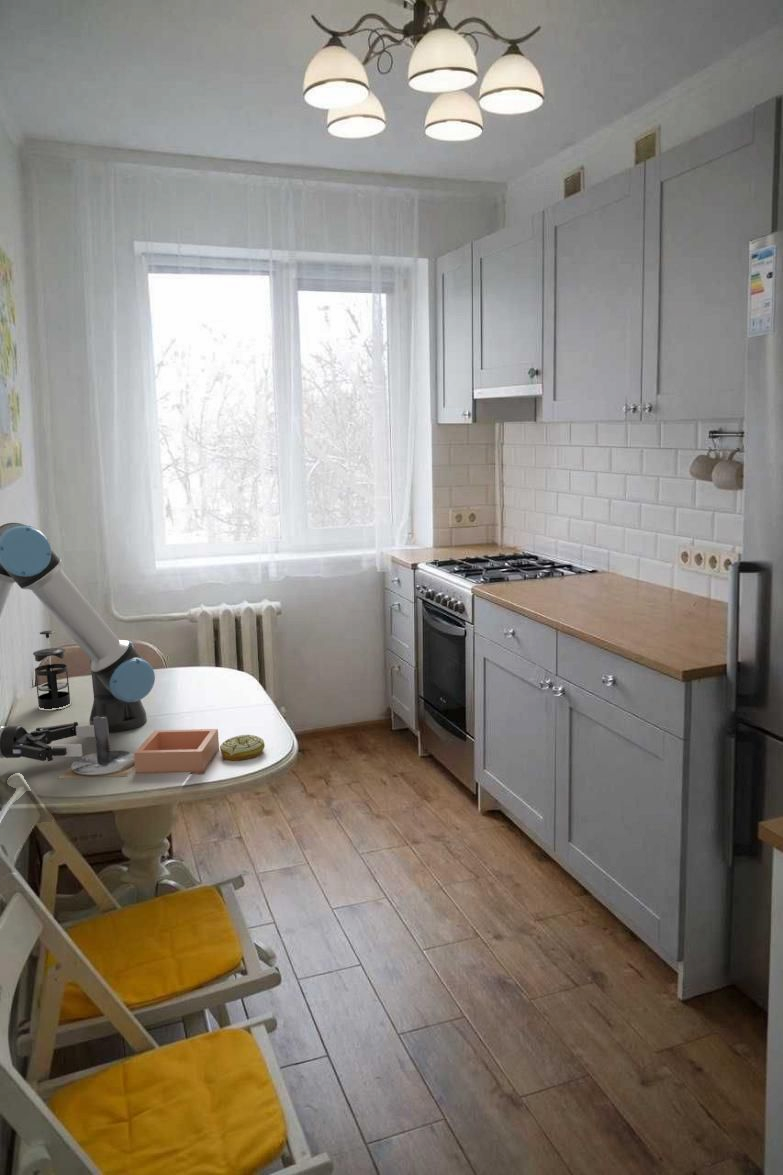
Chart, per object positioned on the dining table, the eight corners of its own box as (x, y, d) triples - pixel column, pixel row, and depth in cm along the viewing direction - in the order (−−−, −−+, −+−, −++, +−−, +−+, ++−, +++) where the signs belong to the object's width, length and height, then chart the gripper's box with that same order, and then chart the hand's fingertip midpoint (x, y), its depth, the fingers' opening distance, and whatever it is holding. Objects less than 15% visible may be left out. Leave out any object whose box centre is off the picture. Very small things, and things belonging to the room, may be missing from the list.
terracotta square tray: (156, 751, 224) (154, 730, 223) (219, 749, 223) (217, 728, 222) (135, 775, 208) (133, 752, 207) (203, 773, 207) (201, 751, 206)
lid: (85, 754, 222) (81, 708, 220) (145, 752, 221) (141, 707, 219) (61, 777, 207) (56, 728, 205) (125, 775, 206) (120, 726, 204)
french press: (73, 708, 264) (66, 632, 260) (40, 713, 260) (31, 636, 256) (68, 698, 274) (61, 625, 270) (36, 703, 270) (28, 629, 266)
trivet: (84, 755, 222) (84, 753, 222) (147, 754, 222) (147, 752, 222) (58, 780, 207) (58, 777, 207) (126, 778, 206) (126, 776, 206)
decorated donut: (214, 753, 221) (213, 739, 221) (253, 744, 227) (252, 729, 226) (230, 765, 213) (229, 750, 212) (271, 755, 218) (270, 740, 218)
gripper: (30, 739, 226) (112, 737, 225) (-19, 776, 202) (73, 774, 201) (27, 711, 225) (109, 709, 224) (-23, 745, 201) (69, 743, 200)
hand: (92, 740), depth 213 cm, fingers open, 13 cm apart
